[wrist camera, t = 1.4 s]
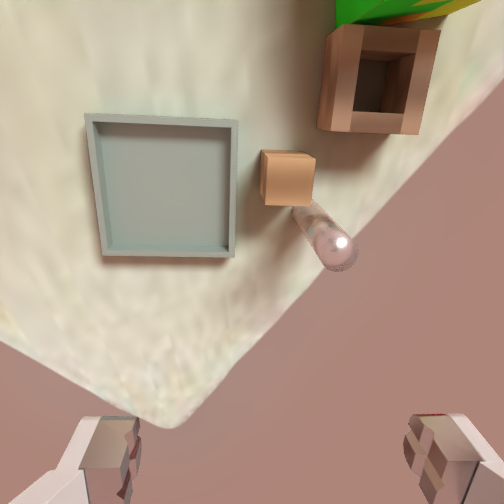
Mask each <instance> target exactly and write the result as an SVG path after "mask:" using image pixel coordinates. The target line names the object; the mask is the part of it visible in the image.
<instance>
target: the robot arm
mask: <svg viewBox="0 0 504 504" xmlns="http://www.w3.org/2000/svg"><path fill="white" fill-rule="evenodd" d="M408 424H409V426H410V428H411V430H410V431H409V432H408V433H407V434H406V435H405V438H404V442H403V447H404V454H405V458H406V461H407V463H408V465H409V467H410V469H411V470H412V471H413V472H414V473H415V474H417V475H418V476H419V477H420V480H419V486H420V488H421V490H422V492H423V494H424V496H425V497H426V499H427V501H428V503H429V504H504V461H502V460H501V459H500V457H499V456H498V455H497V454H496V453H495V451H494V450H493V449H492V448H491V446H490V445H489V444H488V443H487V441H486V440H485V439H484V438H483V437H482V435H481V434H480V433H479V432H478V430H477V429H476V428H475V427H474V426H473V424H472V423H471V422H470V421H469V419H468V418H467V417H466V416H464V415H463V414H461V413H459V414H413V415H412V416H411V417H410V420H409V423H408ZM139 429H140V421H139V418H138V417H117V416H102V417H98V416H84V417H83V418H82V419H81V421H80V422H79V424H78V425H77V427H76V429H75V432H74V433H73V435H72V437H71V439H70V441H69V444H68V445H67V447H66V449H65V451H64V453H63V455H62V457H61V459H60V461H59V463H58V465H57V467H56V469H55V470H49V471H48V472H47V473H45V474H44V475H43V476H41V477H40V478H39V479H38V480H37V481H35V482H34V483H33V484H31V486H29V487H28V488H27V489H25V490H24V491H23V492H22V493H20V494H19V495H18V496H17V497H16V498H14V499H13V500H12V501H11V502H9V503H8V504H129V503H130V500H131V496H132V480H133V479H134V478H135V477H136V476H137V473H138V469H139V464H140V458H141V438H140V437H139V436H138V432H139Z"/></svg>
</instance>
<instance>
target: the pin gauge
mask: <svg viewBox="0 0 504 504" xmlns="http://www.w3.org/2000/svg"><path fill="white" fill-rule="evenodd" d="M292 214H293V217H294V219H295V220H296V222H297V223H298V225H299V227H300V228H301V230H302V231H303V233H304V235H305V236H306V238H307V239H308V241H309V243H310V244H311V246H312V247H313V249H314V251H315V252H316V254H317V255H318V257H319V259H320V260H321V262H322V264H323V265H324V266H325V267H326V268H327V269H329V270H331V271H334V272H340V271H344V270H346V269H348V268H350V267H351V266H352V265H353V264H354V263H355V262H356V260H357V257H358V247H357V245H356V243H355V242H354V241H353V240H352V239H351V238H350V237H349V236H348V235H347V233H346V232H345V231H344V230H343V229H342V228H341V227H340V226H339V225H338V224H337V223H336V222H335V221H334V220H333V219H332V218H331V217H330V216H329V215H328V214H327V213H326V212H325V211H324V210H323V209H322V208H321V207H320V206H319V205H318V204H317V203H316V201H315V200H313V199H311V206H293V208H292Z"/></svg>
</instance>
